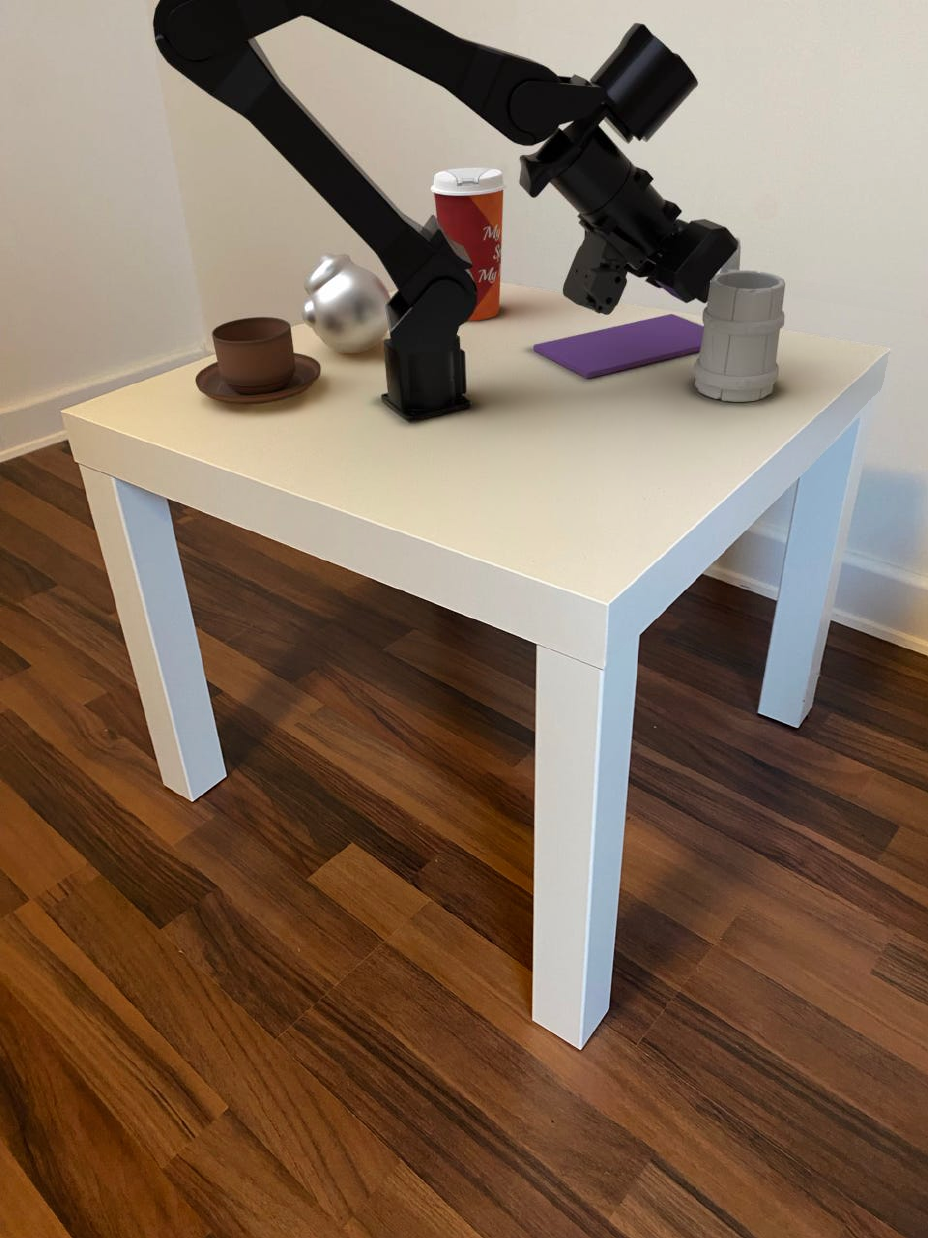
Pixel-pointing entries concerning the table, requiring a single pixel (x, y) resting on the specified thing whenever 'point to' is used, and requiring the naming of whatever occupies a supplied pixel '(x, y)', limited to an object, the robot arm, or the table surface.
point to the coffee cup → (474, 226)
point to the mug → (740, 334)
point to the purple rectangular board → (625, 345)
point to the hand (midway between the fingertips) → (707, 298)
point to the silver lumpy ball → (345, 304)
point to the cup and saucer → (256, 363)
